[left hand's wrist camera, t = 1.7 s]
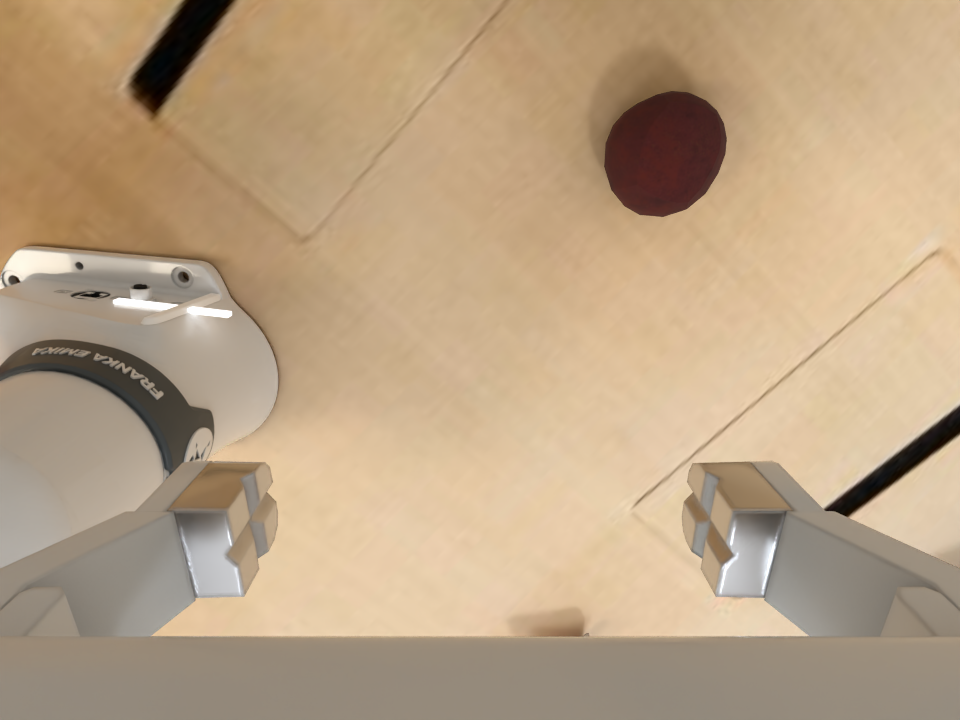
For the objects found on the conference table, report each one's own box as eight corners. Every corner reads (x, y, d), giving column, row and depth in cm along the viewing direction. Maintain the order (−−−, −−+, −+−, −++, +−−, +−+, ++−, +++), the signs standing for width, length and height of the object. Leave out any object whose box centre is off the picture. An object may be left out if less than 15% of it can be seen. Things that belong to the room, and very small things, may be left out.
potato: (715, 113, 37) (765, 103, 31) (673, 223, 40) (710, 236, 33) (616, 83, 37) (645, 66, 30) (580, 197, 39) (599, 204, 33)
